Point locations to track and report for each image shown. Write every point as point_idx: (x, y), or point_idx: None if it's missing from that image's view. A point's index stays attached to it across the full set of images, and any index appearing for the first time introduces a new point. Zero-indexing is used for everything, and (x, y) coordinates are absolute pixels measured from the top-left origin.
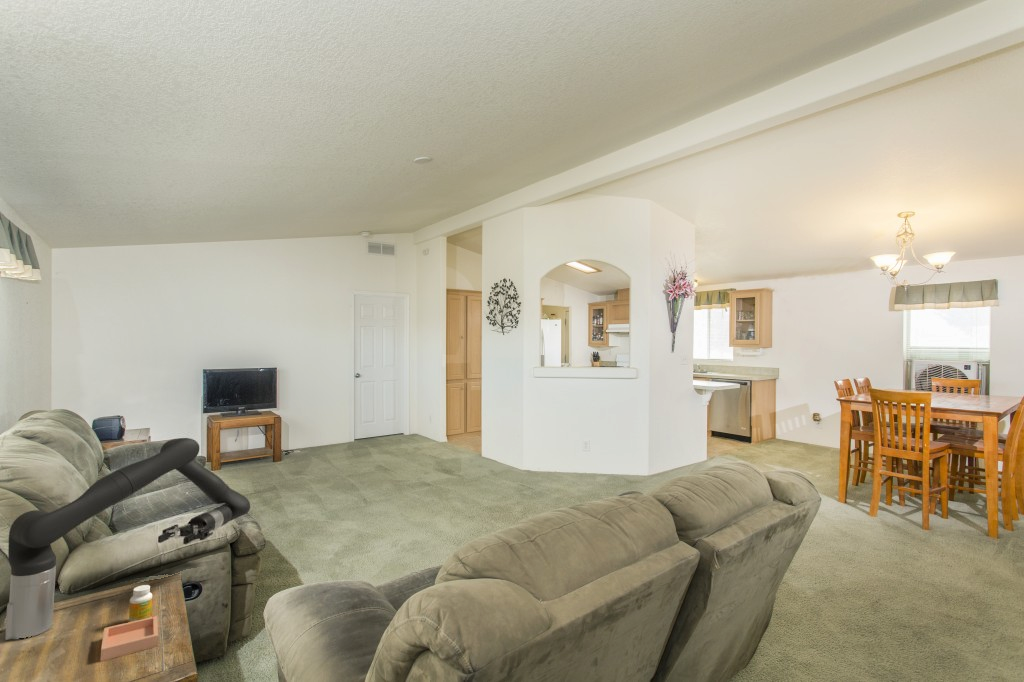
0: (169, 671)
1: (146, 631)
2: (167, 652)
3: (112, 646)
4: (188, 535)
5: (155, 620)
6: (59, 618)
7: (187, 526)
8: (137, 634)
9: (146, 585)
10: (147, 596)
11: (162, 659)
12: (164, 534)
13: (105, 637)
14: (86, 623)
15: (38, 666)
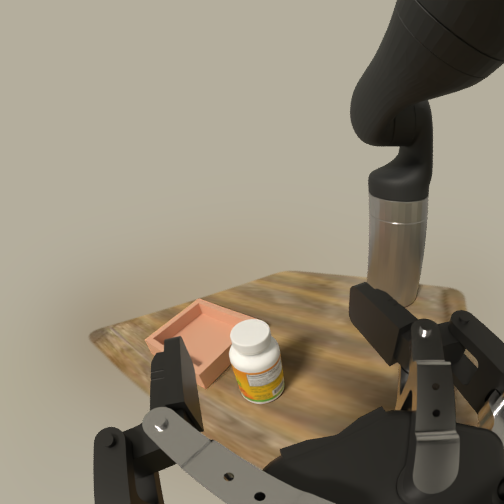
0: (104, 329)
1: (198, 363)
2: (127, 349)
3: (189, 305)
4: (177, 366)
5: None
6: None
7: (409, 462)
8: (205, 352)
9: (251, 341)
10: (231, 350)
11: (125, 339)
12: (372, 303)
13: (223, 309)
14: (351, 336)
15: (269, 283)
